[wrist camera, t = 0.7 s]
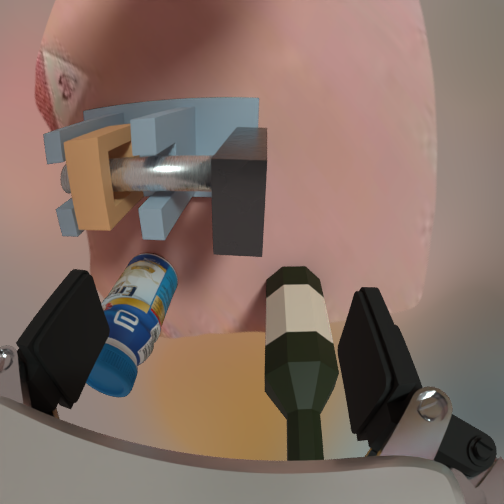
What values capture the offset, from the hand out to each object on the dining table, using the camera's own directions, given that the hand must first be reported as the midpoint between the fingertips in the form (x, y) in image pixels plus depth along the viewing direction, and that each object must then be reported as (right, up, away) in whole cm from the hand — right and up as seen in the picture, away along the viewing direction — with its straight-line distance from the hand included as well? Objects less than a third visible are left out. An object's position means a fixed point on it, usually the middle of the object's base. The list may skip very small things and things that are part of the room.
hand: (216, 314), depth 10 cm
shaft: (-7, +12, +20) cm, 24 cm away
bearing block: (-9, +15, +23) cm, 29 cm away
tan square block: (-12, +12, +18) cm, 24 cm away
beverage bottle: (-14, -1, +34) cm, 36 cm away
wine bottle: (+7, -3, +34) cm, 34 cm away
